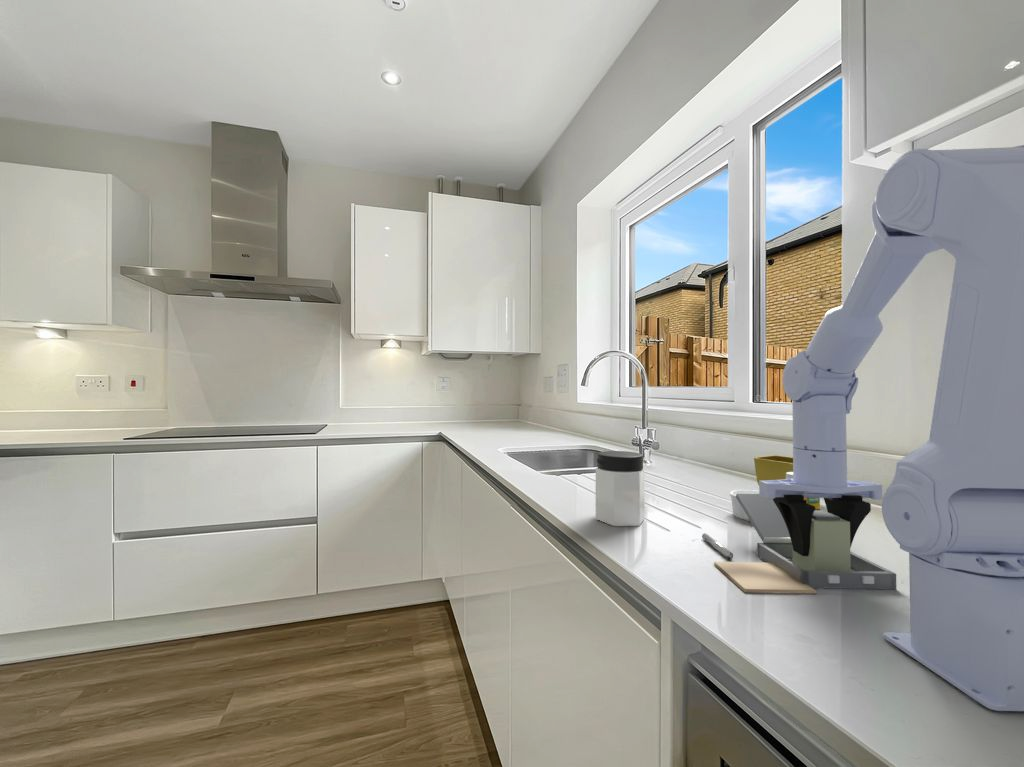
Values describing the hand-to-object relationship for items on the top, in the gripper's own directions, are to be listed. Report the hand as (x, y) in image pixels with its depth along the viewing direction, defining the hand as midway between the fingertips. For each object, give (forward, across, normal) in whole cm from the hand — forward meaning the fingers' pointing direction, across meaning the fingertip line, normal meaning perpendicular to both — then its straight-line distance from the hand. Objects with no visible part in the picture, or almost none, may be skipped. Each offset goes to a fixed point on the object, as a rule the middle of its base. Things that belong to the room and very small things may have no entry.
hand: (820, 553), depth 56 cm
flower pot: (+2, -18, -38) cm, 42 cm away
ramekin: (+3, -5, -24) cm, 25 cm away
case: (+2, 0, 0) cm, 2 cm away
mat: (+2, +9, +2) cm, 10 cm away
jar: (+2, +21, -22) cm, 30 cm away
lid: (+2, 0, -9) cm, 9 cm away
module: (+2, 0, 0) cm, 2 cm away
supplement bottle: (+2, -8, -16) cm, 19 cm away
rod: (+2, +10, -8) cm, 13 cm away
